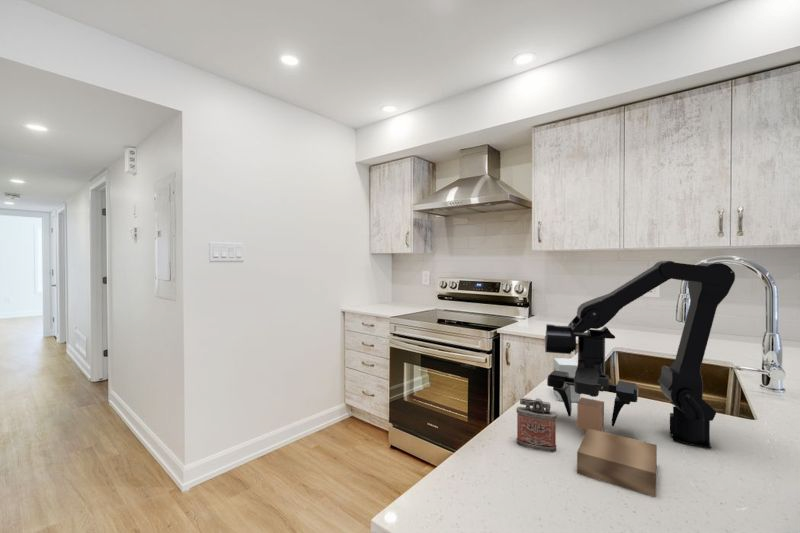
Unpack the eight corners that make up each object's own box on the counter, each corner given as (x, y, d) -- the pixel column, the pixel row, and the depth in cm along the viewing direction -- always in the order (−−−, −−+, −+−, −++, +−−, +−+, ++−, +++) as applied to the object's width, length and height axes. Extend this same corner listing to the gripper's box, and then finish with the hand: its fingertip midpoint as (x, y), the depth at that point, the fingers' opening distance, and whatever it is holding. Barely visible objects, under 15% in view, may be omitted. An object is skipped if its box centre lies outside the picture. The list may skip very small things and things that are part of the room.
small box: (580, 403, 103) (580, 365, 103) (558, 401, 104) (559, 364, 104) (572, 393, 111) (573, 358, 111) (553, 391, 112) (553, 357, 112)
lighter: (556, 446, 78) (557, 399, 78) (556, 453, 75) (556, 405, 75) (517, 438, 82) (517, 393, 82) (515, 445, 79) (515, 399, 79)
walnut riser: (656, 465, 71) (656, 444, 71) (655, 497, 61) (655, 473, 61) (587, 447, 78) (587, 428, 78) (577, 473, 68) (577, 451, 68)
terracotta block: (603, 426, 88) (604, 401, 88) (601, 434, 84) (601, 408, 84) (580, 421, 91) (581, 397, 91) (577, 428, 87) (577, 403, 87)
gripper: (541, 356, 86) (541, 422, 86) (635, 370, 76) (635, 445, 76) (553, 347, 95) (552, 407, 96) (638, 358, 85) (638, 426, 85)
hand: (590, 420), depth 88 cm, fingers open, 9 cm apart
